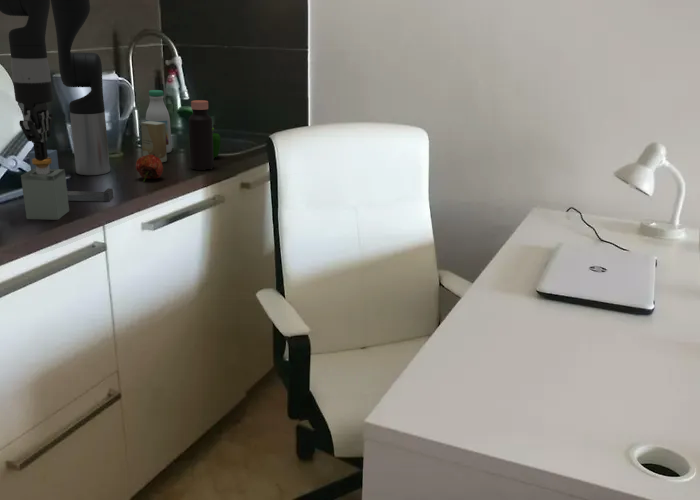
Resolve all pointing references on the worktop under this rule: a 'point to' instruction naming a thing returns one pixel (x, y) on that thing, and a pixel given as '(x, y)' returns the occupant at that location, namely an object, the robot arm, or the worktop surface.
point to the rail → (90, 195)
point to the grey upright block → (45, 194)
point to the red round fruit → (149, 167)
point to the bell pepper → (216, 144)
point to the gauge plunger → (42, 165)
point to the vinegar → (201, 136)
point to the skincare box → (154, 139)
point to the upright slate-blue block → (51, 154)
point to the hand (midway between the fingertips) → (41, 158)
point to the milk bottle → (159, 114)
